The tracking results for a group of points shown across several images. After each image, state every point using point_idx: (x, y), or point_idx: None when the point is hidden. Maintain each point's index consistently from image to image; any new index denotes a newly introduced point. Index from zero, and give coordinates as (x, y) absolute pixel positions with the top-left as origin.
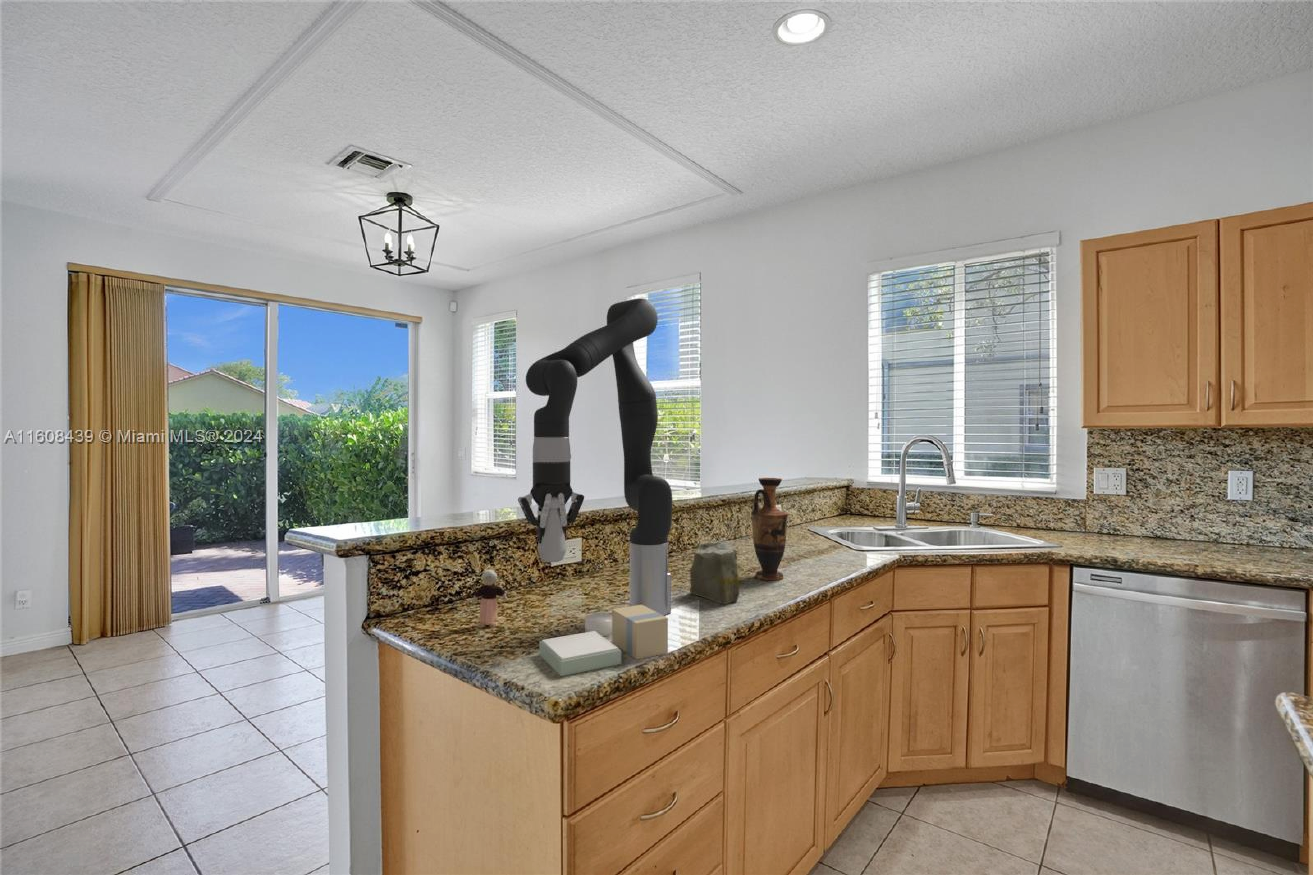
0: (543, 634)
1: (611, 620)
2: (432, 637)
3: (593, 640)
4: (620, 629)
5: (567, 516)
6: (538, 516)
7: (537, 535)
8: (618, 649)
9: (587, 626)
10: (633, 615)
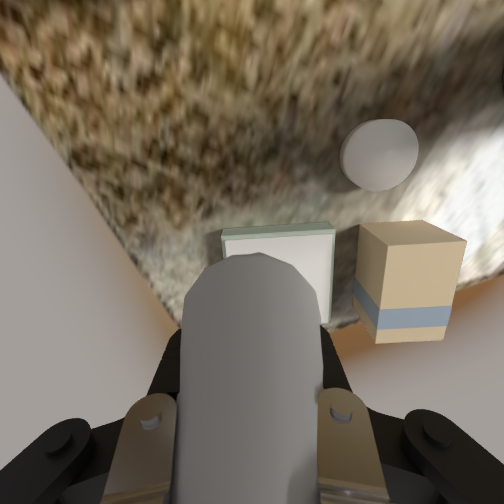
0: (258, 114)
1: (396, 183)
2: (5, 8)
3: (307, 279)
4: (369, 270)
5: (415, 483)
6: (114, 502)
7: (162, 360)
8: (328, 319)
9: (344, 164)
10: (399, 303)
